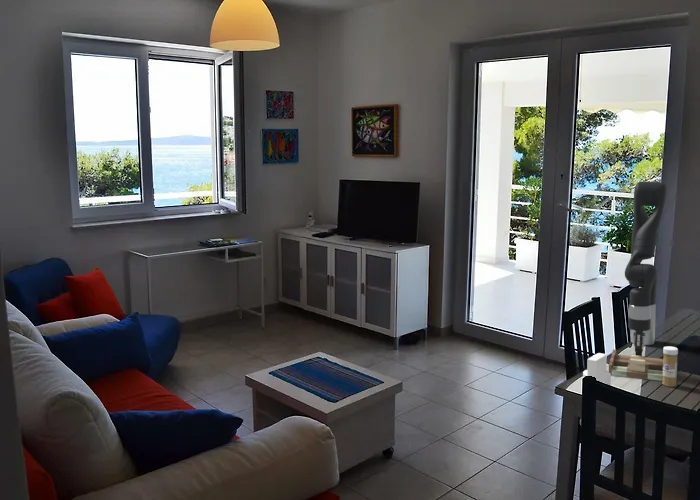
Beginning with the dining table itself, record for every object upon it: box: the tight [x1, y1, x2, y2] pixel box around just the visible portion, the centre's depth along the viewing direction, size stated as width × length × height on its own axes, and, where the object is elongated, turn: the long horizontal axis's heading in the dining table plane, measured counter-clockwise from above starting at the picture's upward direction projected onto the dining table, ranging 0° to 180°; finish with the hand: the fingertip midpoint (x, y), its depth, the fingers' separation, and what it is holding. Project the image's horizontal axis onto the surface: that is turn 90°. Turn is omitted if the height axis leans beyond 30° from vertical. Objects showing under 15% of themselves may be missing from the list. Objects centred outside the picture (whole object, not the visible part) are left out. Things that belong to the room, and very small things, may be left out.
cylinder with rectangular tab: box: [582, 352, 612, 385], centre depth 215 cm, size 9×9×12 cm
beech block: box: [630, 354, 646, 372], centre depth 229 cm, size 6×5×4 cm
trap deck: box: [608, 349, 664, 382], centre depth 233 cm, size 19×19×4 cm
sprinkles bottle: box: [661, 345, 679, 387], centre depth 217 cm, size 5×5×13 cm
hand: (638, 361), depth 234 cm, fingers closed
